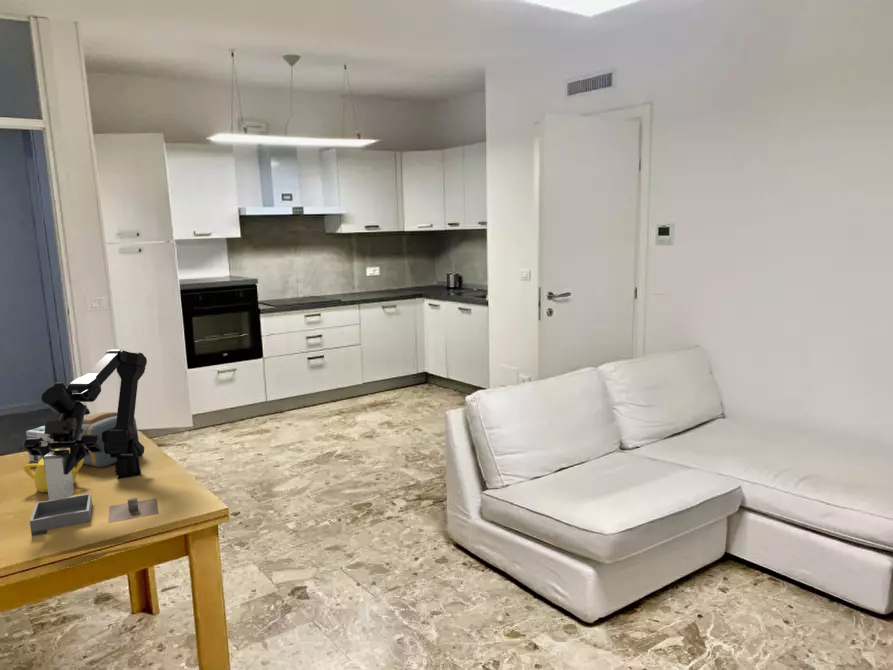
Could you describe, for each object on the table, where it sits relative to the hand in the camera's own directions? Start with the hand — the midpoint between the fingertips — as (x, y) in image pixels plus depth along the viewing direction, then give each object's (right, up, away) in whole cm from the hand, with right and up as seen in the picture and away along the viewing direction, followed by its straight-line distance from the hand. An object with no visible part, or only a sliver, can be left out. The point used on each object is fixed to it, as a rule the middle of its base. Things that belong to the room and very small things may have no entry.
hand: (56, 474), depth 172 cm
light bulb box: (-34, -6, +53) cm, 64 cm away
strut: (0, -6, +2) cm, 7 cm away
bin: (0, -13, +3) cm, 14 cm away
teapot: (-17, -10, +28) cm, 35 cm away
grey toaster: (-14, -6, +53) cm, 55 cm away
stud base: (+17, -12, +7) cm, 22 cm away
